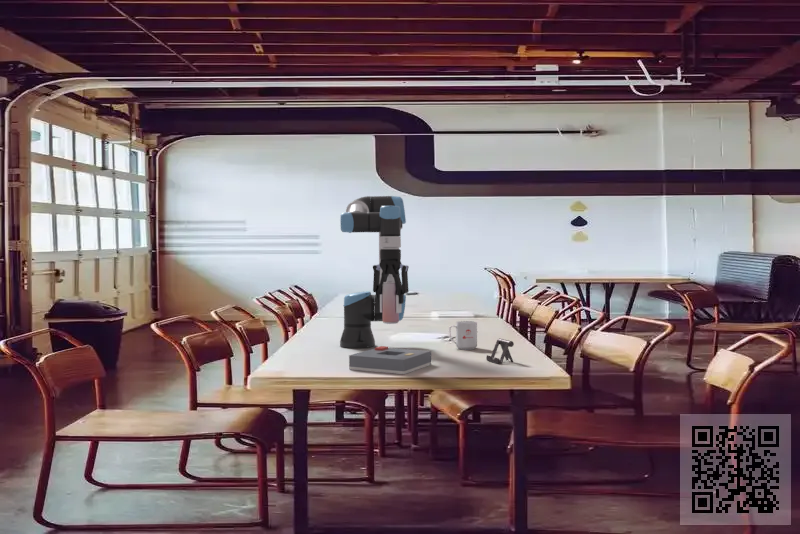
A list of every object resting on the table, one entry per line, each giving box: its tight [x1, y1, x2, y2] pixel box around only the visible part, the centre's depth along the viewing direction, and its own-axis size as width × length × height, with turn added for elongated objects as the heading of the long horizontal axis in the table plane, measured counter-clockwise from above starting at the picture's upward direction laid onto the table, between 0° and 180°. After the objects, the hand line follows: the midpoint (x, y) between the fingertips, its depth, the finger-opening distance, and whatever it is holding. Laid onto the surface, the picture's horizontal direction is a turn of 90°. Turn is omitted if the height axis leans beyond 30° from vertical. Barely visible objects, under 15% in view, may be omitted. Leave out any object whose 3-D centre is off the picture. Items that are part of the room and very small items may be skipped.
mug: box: [448, 320, 478, 351], centre depth 317 cm, size 12×9×11 cm
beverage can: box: [382, 281, 400, 325], centre depth 272 cm, size 6×6×15 cm
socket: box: [348, 345, 432, 375], centre depth 273 cm, size 22×22×6 cm
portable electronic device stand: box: [486, 338, 515, 365], centre depth 283 cm, size 9×8×8 cm
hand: (390, 312), depth 272 cm, fingers closed on beverage can, 6 cm apart
